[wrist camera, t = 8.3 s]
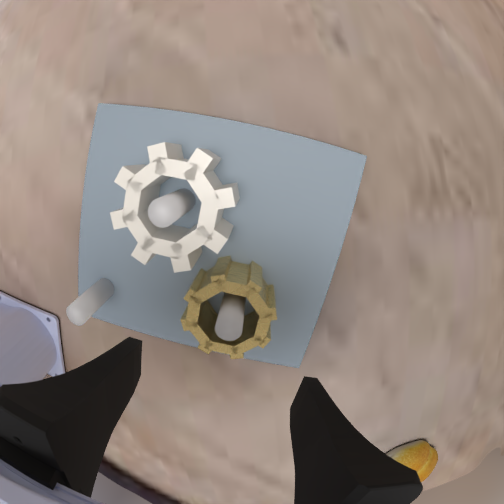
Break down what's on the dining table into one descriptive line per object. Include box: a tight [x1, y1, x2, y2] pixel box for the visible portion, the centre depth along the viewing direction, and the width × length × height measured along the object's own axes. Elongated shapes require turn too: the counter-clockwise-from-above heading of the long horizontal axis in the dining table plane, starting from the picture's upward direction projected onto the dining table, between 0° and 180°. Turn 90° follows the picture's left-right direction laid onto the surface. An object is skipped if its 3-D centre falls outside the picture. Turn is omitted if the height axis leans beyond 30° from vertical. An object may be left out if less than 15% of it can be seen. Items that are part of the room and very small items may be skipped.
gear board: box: [66, 103, 367, 368], centre depth 18 cm, size 18×16×6 cm
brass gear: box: [180, 256, 277, 359], centre depth 19 cm, size 6×6×3 cm
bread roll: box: [386, 440, 438, 482], centre depth 27 cm, size 8×9×4 cm
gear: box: [110, 142, 240, 273], centre depth 17 cm, size 7×7×3 cm
